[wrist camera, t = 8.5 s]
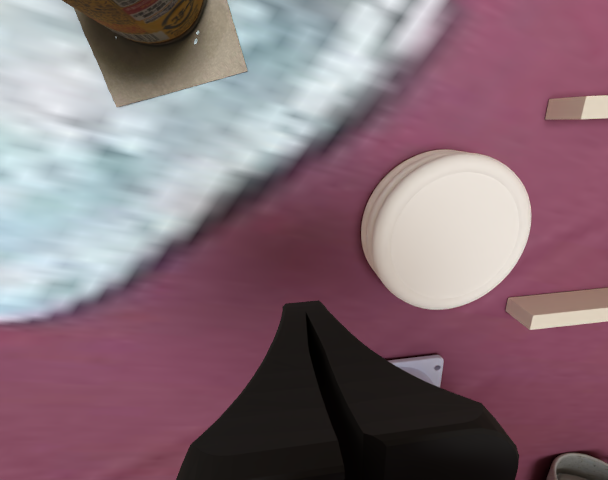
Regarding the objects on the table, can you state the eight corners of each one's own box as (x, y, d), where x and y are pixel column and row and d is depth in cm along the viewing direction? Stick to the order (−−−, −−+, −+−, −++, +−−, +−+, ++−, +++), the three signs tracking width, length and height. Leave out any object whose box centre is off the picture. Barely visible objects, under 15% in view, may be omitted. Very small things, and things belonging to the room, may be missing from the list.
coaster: (427, 309, 25) (452, 338, 22) (329, 240, 22) (340, 260, 19) (524, 207, 23) (567, 221, 20) (429, 115, 20) (462, 114, 17)
